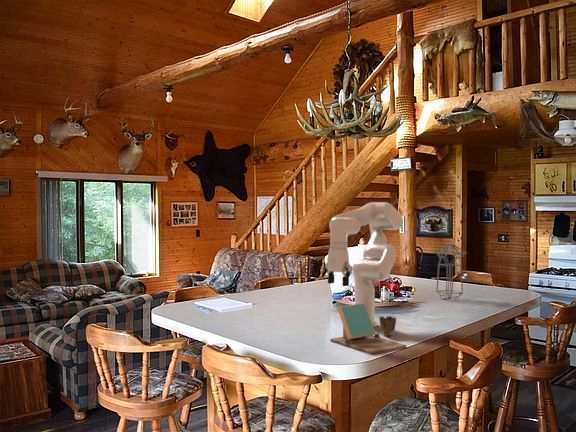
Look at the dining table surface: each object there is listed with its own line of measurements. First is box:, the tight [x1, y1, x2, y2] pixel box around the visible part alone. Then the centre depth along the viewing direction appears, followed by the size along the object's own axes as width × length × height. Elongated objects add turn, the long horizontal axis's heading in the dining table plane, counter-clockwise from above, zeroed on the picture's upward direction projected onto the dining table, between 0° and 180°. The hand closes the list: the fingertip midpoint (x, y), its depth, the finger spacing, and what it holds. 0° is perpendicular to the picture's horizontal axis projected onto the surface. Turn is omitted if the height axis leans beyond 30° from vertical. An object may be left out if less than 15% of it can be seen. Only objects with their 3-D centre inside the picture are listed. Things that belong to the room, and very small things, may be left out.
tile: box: [337, 303, 377, 340], centre depth 220 cm, size 14×14×2 cm
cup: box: [378, 315, 397, 337], centre depth 230 cm, size 8×7×8 cm
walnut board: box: [329, 326, 407, 356], centre depth 215 cm, size 25×19×7 cm
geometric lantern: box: [433, 243, 468, 300], centre depth 324 cm, size 16×16×35 cm
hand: (338, 284), depth 230 cm, fingers open, 9 cm apart
